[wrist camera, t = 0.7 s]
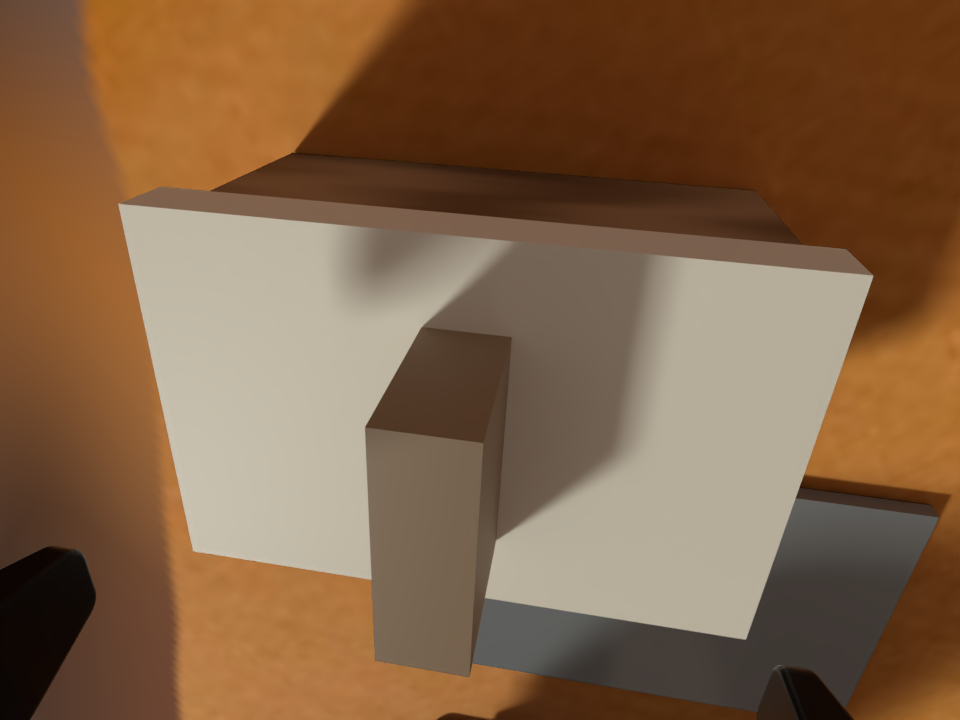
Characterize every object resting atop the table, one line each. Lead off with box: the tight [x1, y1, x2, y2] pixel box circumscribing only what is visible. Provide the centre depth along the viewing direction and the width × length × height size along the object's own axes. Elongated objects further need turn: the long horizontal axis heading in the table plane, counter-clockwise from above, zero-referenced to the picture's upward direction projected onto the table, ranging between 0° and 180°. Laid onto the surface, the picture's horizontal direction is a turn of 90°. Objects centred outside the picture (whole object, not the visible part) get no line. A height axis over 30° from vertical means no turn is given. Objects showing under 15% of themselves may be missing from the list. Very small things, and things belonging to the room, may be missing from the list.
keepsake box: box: [211, 153, 803, 245], centre depth 15 cm, size 11×7×5 cm, turn 88°
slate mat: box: [472, 488, 939, 712], centre depth 21 cm, size 9×13×1 cm
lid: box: [118, 187, 873, 677], centre depth 11 cm, size 12×8×5 cm, turn 88°
